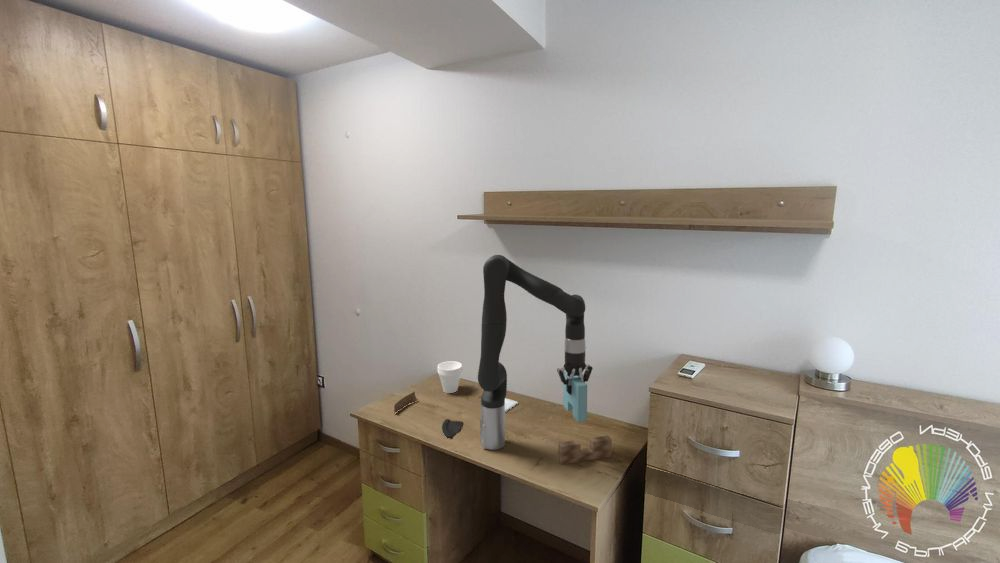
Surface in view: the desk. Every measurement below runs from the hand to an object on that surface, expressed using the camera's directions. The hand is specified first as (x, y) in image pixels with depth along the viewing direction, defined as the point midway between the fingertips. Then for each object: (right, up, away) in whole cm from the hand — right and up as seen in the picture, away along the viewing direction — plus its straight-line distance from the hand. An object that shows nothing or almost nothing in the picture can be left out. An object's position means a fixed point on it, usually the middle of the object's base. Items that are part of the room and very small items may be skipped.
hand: (574, 392), depth 167 cm
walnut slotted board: (+4, -24, -1) cm, 25 cm away
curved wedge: (-49, -21, +21) cm, 57 cm away
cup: (-53, -14, +58) cm, 80 cm away
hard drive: (-26, -17, +41) cm, 52 cm away
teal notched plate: (0, -8, +1) cm, 8 cm away
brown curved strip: (-72, -17, +40) cm, 84 cm away
